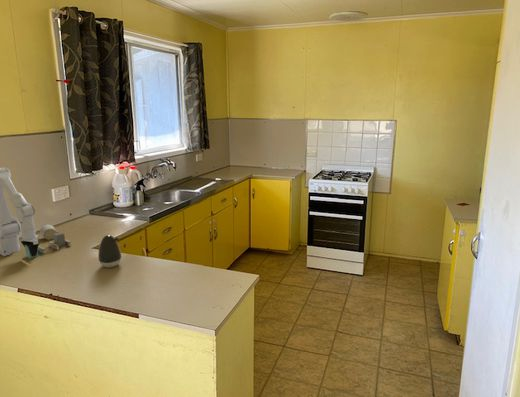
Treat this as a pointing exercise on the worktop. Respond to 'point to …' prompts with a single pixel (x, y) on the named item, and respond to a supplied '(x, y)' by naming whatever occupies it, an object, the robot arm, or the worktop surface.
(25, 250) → the teal plug
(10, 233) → the robot arm
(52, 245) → the brown tray
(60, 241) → the grey plug
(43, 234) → the ceramic mug
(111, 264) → the dark grey egg shape
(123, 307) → the worktop surface
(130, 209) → the worktop surface
